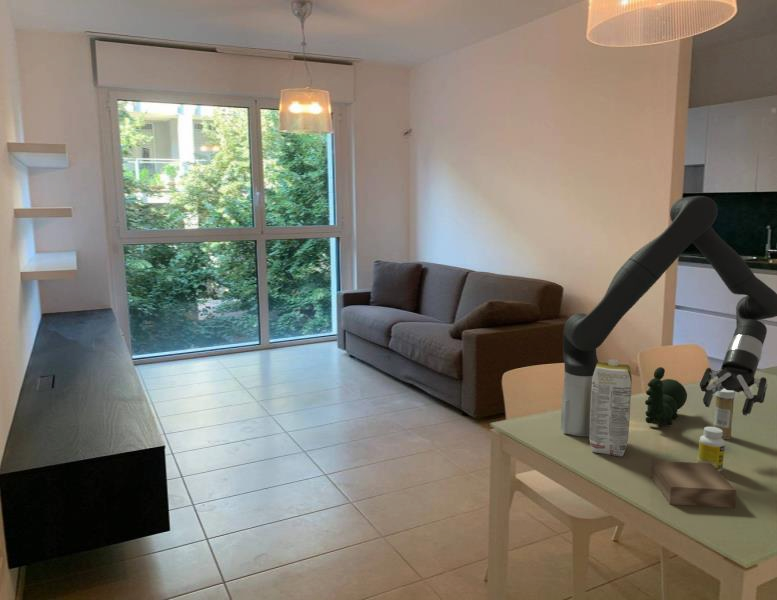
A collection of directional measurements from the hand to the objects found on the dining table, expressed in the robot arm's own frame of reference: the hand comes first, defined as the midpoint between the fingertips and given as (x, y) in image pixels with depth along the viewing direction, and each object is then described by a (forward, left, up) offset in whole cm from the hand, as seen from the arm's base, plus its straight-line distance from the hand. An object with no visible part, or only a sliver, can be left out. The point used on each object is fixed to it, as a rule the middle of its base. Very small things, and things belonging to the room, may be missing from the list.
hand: (725, 409), depth 147 cm
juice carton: (-27, +1, -13) cm, 30 cm away
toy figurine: (-6, +26, -13) cm, 30 cm away
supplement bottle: (-5, -6, -13) cm, 15 cm away
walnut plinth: (-14, -20, -13) cm, 27 cm away
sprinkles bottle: (+6, +14, -13) cm, 20 cm away
